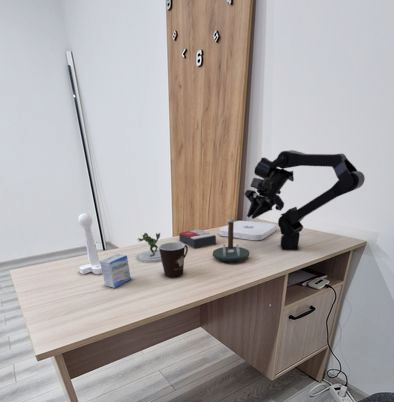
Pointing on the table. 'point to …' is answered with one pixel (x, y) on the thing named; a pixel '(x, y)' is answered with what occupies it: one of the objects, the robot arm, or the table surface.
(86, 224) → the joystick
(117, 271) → the medicine box
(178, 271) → the coffee mug
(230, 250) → the pegged disc stand
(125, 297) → the table surface
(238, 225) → the computer
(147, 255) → the monster figurine
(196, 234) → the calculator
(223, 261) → the turntable base
